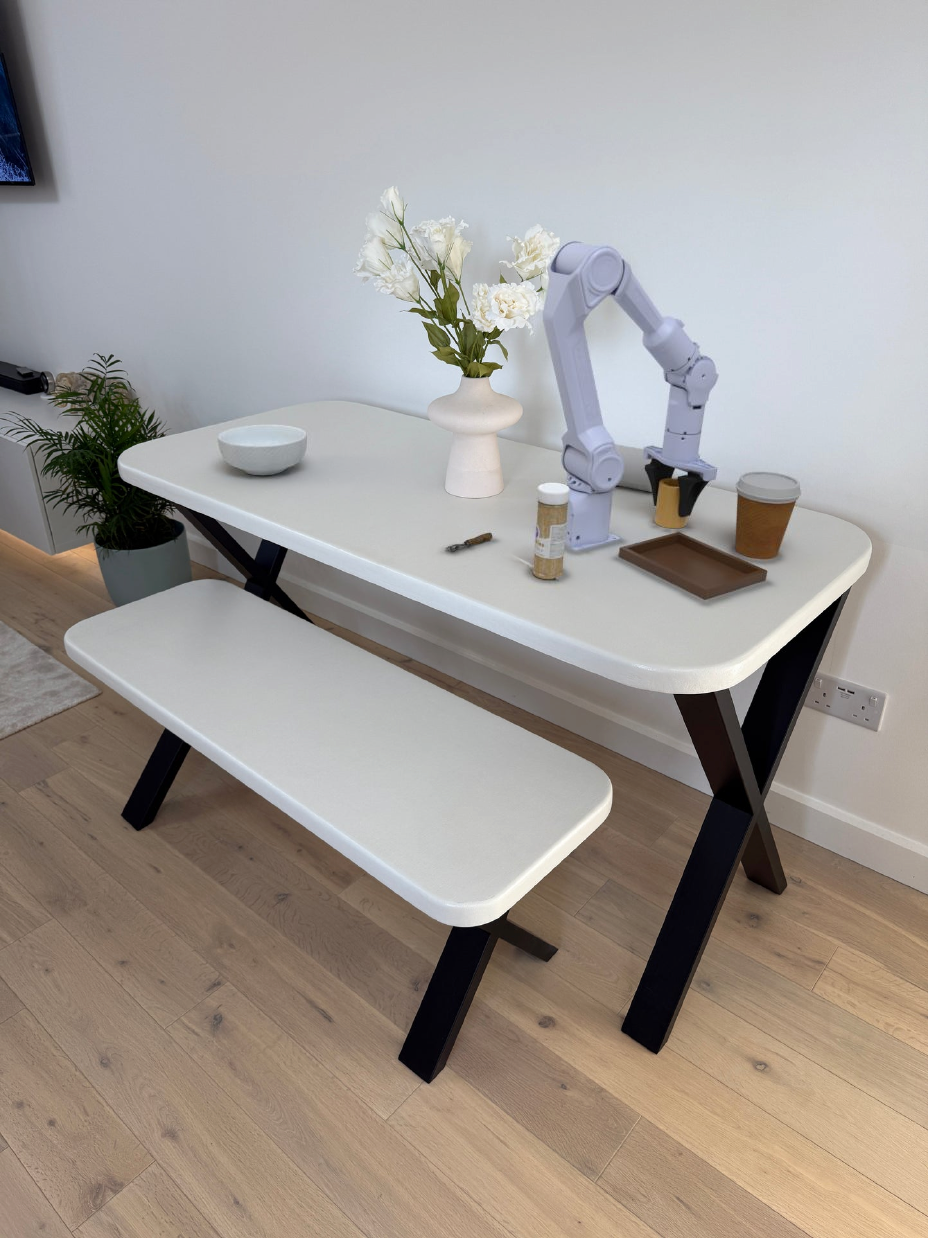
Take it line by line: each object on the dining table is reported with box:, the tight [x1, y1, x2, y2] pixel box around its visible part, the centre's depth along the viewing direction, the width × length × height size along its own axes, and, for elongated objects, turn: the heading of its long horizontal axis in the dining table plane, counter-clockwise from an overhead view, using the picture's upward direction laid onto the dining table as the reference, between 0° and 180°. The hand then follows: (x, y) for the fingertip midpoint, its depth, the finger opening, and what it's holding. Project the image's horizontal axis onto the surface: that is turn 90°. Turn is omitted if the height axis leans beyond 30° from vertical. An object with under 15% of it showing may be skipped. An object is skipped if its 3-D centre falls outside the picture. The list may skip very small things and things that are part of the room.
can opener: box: [445, 532, 493, 552], centre depth 134 cm, size 9×2×1 cm, turn 125°
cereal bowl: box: [217, 424, 308, 476], centre depth 165 cm, size 17×17×7 cm
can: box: [615, 443, 652, 493], centre depth 160 cm, size 8×8×12 cm
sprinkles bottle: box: [532, 482, 570, 580], centre depth 122 cm, size 5×5×14 cm
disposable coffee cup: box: [734, 471, 802, 561], centre depth 130 cm, size 10×10×12 cm
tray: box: [618, 531, 768, 601], centre depth 127 cm, size 13×18×2 cm
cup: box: [653, 477, 689, 529], centre depth 142 cm, size 5×5×7 cm
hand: (672, 510), depth 142 cm, fingers closed on cup, 5 cm apart
